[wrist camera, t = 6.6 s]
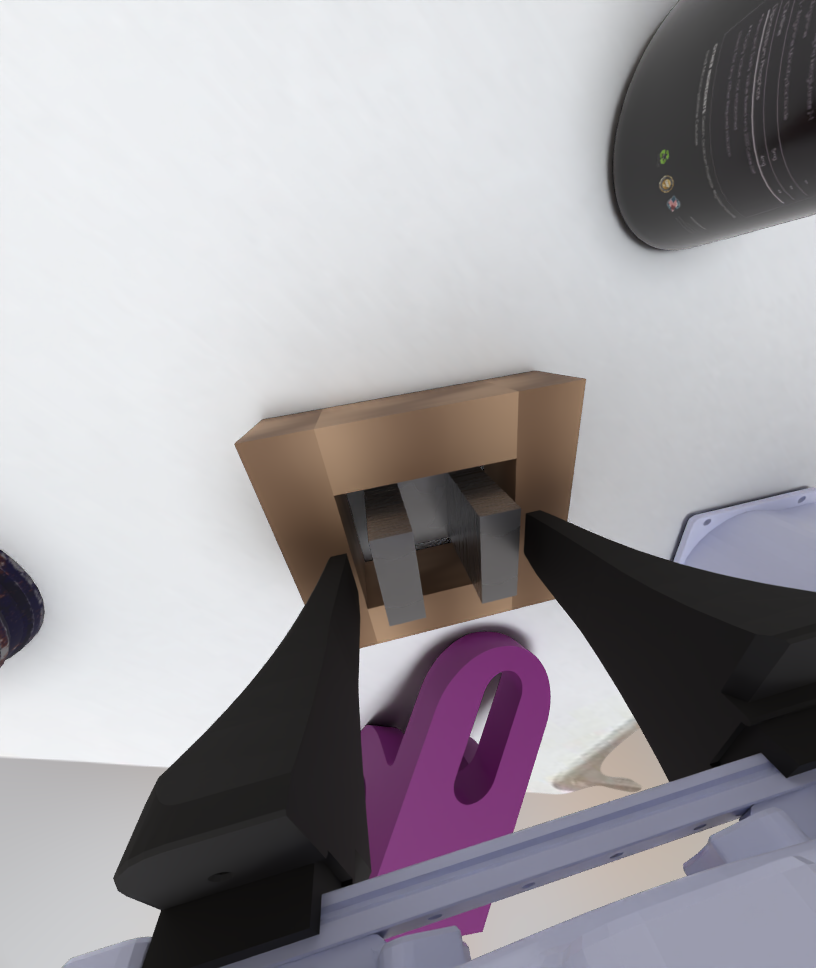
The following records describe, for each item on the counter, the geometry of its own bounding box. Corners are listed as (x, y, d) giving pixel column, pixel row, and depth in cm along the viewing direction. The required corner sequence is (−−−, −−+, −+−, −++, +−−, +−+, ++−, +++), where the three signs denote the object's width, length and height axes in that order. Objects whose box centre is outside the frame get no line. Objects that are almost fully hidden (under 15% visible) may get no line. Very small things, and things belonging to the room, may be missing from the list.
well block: (535, 370, 13) (585, 378, 10) (525, 558, 18) (557, 598, 15) (262, 419, 12) (234, 444, 9) (331, 604, 17) (327, 656, 14)
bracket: (463, 451, 14) (521, 508, 9) (467, 518, 16) (516, 595, 11) (362, 471, 14) (368, 541, 9) (378, 538, 16) (389, 626, 11)
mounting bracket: (411, 583, 26) (330, 797, 24) (462, 632, 18) (347, 958, 16) (493, 608, 29) (427, 798, 27) (567, 659, 21) (482, 932, 19)
